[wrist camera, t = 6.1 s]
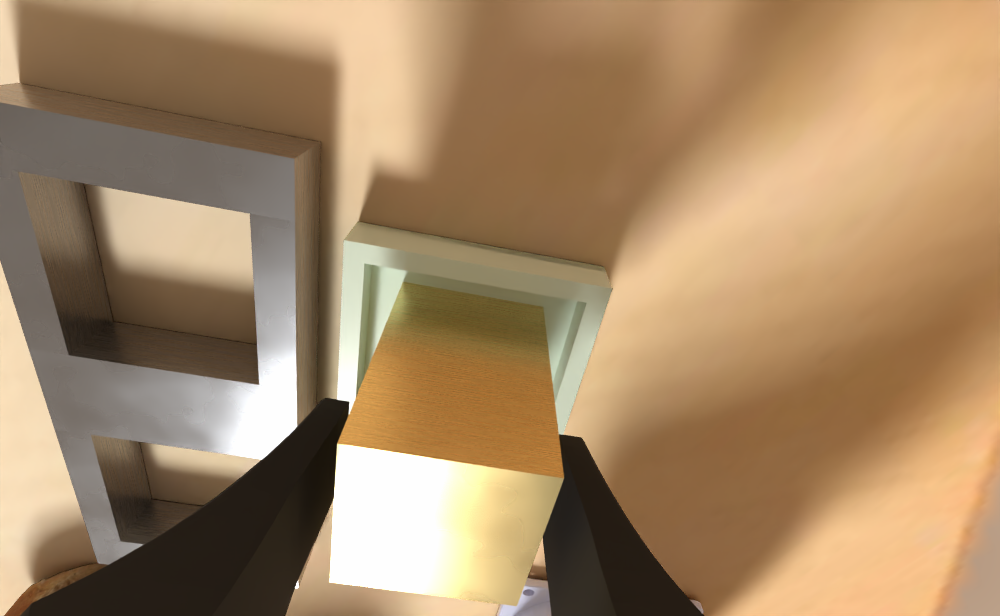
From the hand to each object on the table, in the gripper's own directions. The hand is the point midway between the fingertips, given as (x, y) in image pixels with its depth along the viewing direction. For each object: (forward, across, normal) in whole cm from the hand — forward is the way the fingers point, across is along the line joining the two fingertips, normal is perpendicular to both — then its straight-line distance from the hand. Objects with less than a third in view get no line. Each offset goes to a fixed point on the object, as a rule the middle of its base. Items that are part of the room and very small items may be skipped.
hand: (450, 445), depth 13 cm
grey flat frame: (+5, +9, +3) cm, 11 cm away
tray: (+5, 0, 0) cm, 5 cm away
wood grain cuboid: (+4, 0, 0) cm, 4 cm away
